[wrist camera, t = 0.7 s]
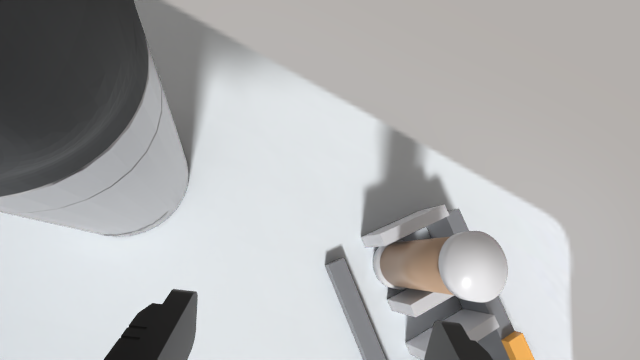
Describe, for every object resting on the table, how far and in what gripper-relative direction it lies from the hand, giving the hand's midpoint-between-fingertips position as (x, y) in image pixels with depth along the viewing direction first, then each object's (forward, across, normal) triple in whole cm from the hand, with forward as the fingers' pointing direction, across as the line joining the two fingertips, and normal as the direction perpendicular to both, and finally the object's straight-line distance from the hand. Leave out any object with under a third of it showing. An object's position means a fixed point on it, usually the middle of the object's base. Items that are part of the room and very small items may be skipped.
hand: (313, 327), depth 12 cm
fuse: (+18, -8, +7) cm, 21 cm away
